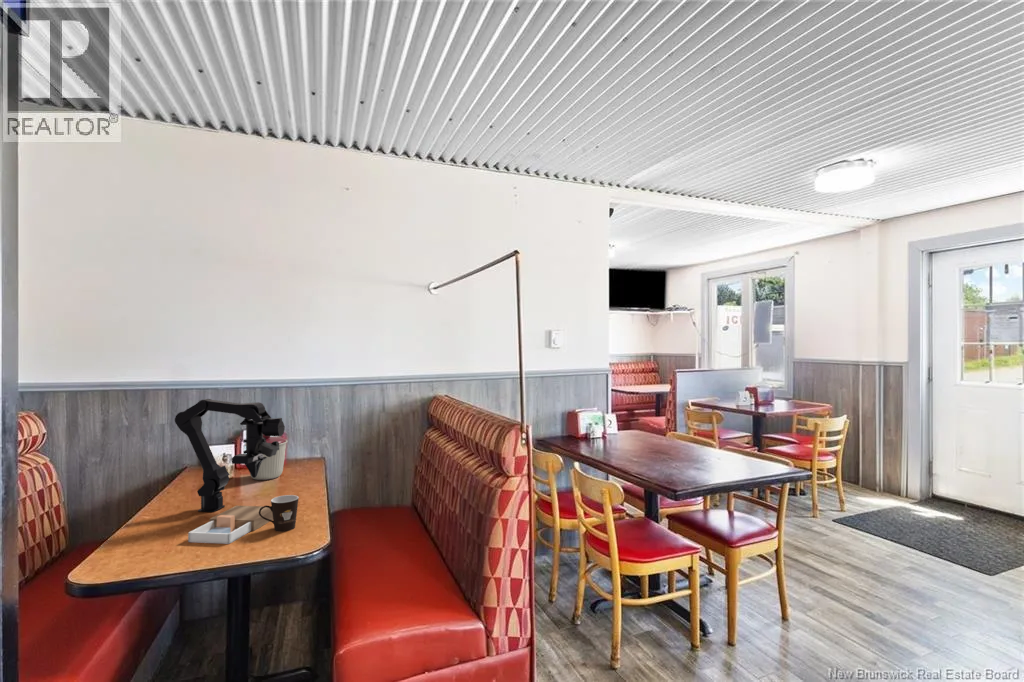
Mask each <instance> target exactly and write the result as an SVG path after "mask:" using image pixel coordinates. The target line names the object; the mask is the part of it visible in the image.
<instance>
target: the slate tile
mask: <svg viewBox="0 0 1024 682" xmlns="http://www.w3.org/2000/svg"><path fill="white" fill-rule="evenodd" d="M207 533H231V528H228V527H215V528H213V529H212V530H210V531H208V532H207Z"/></svg>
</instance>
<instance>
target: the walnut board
mask: <svg viewBox="0 0 1024 682" xmlns="http://www.w3.org/2000/svg"><path fill="white" fill-rule="evenodd" d="M261 507H263V505H258V506H256V505H234V506H232V507H231V508H228V509H227V510H224V511H222V512H220V513H218V514H216V515H214V516H212V517H210V518H209V522H210V521H212V520H214V528H215V527H217V516H220V515H235V529H238V528H239V527H241V526H243V525H245V524H246V523H248V522H251V531H252V532H255V531H257V530H258V529H259V528H261V527H263V526H265V525H266V524H268V523H271V522H270V521H267V520H265V519H263V518H262V517H261V516H260V515H259V510H260V508H261ZM261 515H262V516H263V517H265V518H267V519H270V520H273V513H272V511H271V510H270V508H268V507H265V508H263V509H262V510H261ZM251 531H250V532H251Z"/></svg>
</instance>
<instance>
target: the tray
mask: <svg viewBox="0 0 1024 682" xmlns="http://www.w3.org/2000/svg"><path fill="white" fill-rule="evenodd" d="M213 528H214V520H212V521H210V520H209V521H208V522H206V523H205V524H202V525H200V526H198V527H196V528H195V529H192V530H190V531H188V532H187V541H188V543H202V544H225V545H230V544H232V543H234V542H235V541H237V540H239V539H240V538H242V537H244V536H245V535H246V534H248V533H250V532H251V522H248V523H246V524H245V525H243V526H241V527H239V528H238V529H235V530H234V531H232V532H231V533H207V532H208V531H210V530H212V529H213Z"/></svg>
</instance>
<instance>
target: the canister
mask: <svg viewBox="0 0 1024 682" xmlns="http://www.w3.org/2000/svg"><path fill="white" fill-rule="evenodd" d="M263 438H265V439H266V442H267V443H272V442H274V441H277V442H279V448H280V449H279V450H277V453H276V455H273V456H272V457H267V456H266V455H264V454H263V455H264V457H267V458H266V459H265V460H263V461H262V463H261V465H260V468H259V471H258V474H257V477H255V478H253V477H252V475H251V474H250V473H249V474H250V475H249V476H250V478H251V479H253V480H257V481H265V480H272V479H276V478H278V477H280V476H281V475H282V474H283V471H284V464H285V457H286V456H285V455H286V449H287V448H286V447H287V444H288V439H285V438H284V437H282V436H265V435H264V434H263ZM244 446H245V447H246V443H244Z"/></svg>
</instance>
